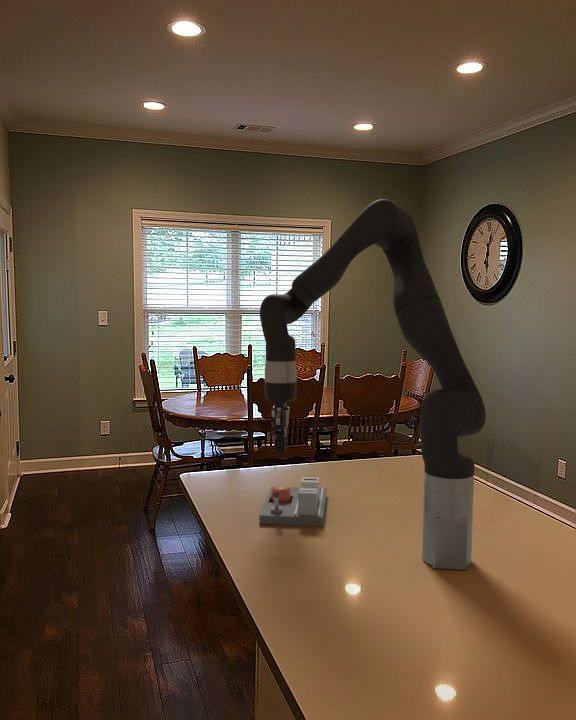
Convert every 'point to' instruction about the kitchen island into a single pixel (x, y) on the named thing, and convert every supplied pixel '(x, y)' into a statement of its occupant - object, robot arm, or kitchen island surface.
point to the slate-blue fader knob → (307, 501)
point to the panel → (291, 510)
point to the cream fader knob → (311, 484)
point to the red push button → (282, 494)
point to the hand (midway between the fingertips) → (280, 452)
